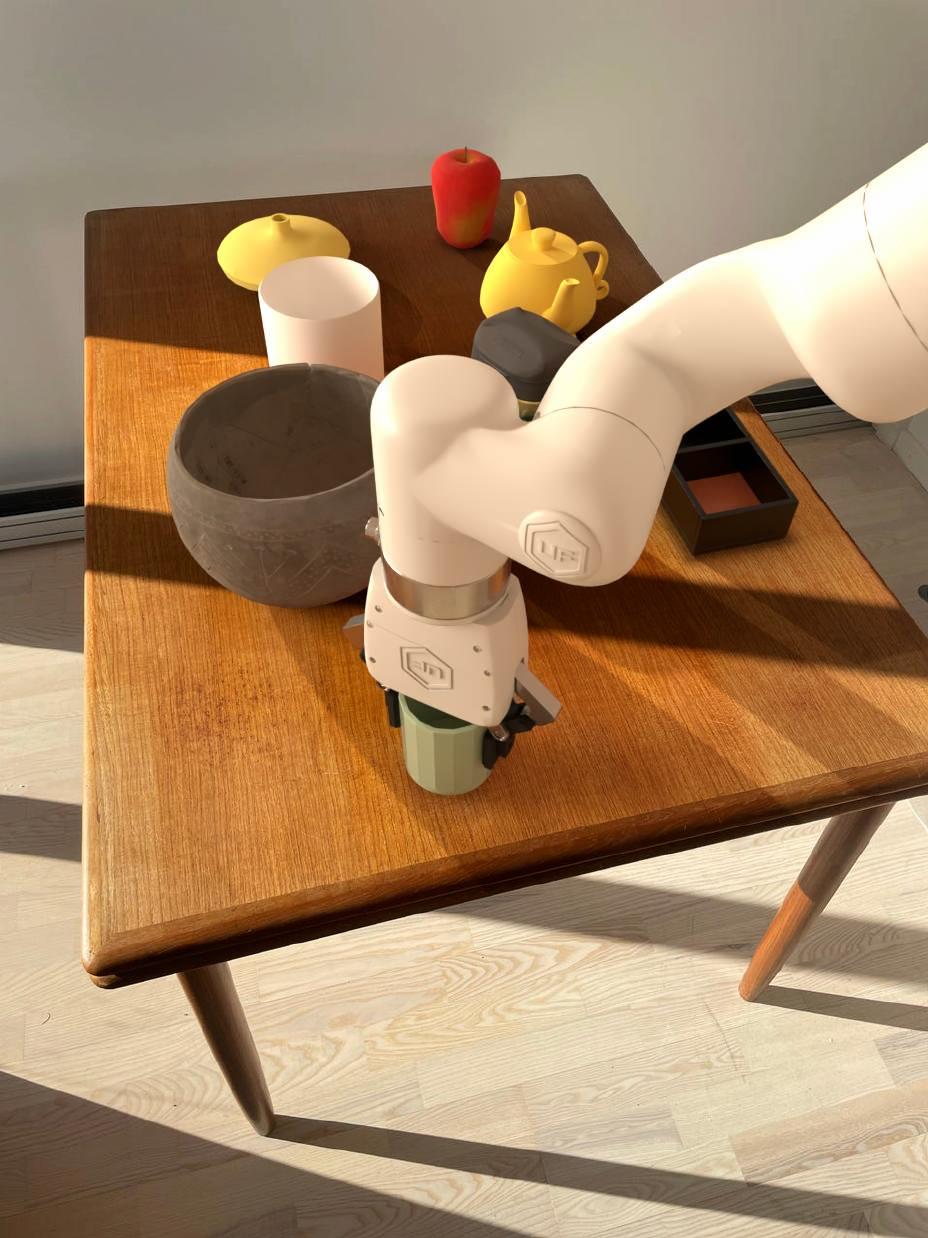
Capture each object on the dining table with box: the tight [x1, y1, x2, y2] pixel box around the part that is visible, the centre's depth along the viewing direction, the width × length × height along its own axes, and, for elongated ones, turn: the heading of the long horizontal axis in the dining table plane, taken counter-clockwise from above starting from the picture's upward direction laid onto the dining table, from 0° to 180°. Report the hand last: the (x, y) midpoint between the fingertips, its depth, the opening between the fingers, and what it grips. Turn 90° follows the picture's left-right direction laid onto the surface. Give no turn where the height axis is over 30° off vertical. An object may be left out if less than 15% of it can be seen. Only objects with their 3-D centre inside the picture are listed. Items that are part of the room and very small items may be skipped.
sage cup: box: [399, 692, 494, 796], centre depth 69 cm, size 7×7×8 cm
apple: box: [430, 145, 502, 250], centre depth 119 cm, size 9×8×12 cm
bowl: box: [166, 363, 381, 609], centre depth 81 cm, size 21×21×15 cm
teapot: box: [479, 190, 610, 339], centre depth 107 cm, size 20×15×12 cm
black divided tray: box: [660, 405, 800, 557], centre depth 93 cm, size 18×9×5 cm, turn 16°
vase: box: [216, 212, 351, 293], centre depth 115 cm, size 16×16×7 cm
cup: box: [258, 256, 385, 382], centre depth 98 cm, size 12×12×12 cm
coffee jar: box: [470, 307, 583, 422], centre depth 85 cm, size 10×8×19 cm
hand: (449, 732), depth 70 cm, fingers closed on sage cup, 6 cm apart
